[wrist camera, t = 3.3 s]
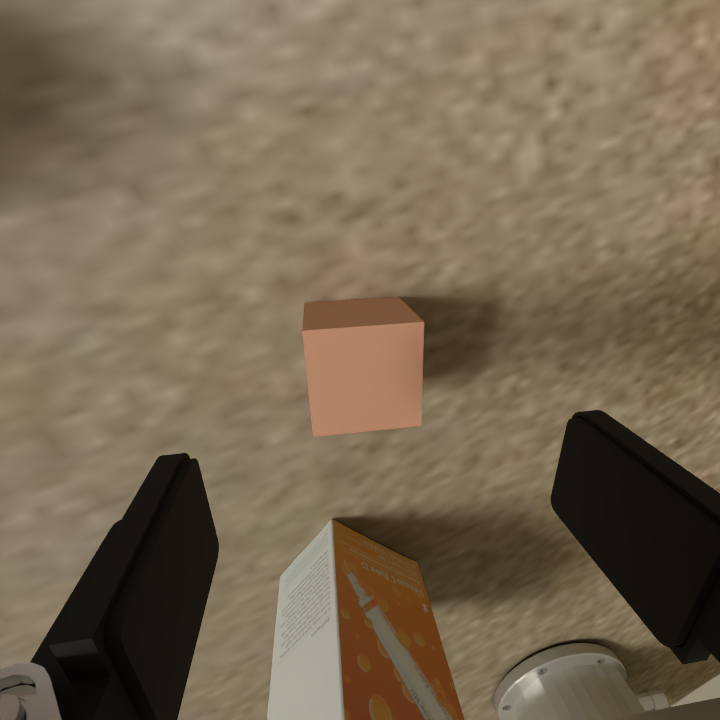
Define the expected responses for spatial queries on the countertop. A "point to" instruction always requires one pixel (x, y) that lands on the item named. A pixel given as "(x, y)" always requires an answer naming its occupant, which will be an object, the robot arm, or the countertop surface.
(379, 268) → the countertop surface
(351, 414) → the terracotta block
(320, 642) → the small box
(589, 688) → the robot arm
